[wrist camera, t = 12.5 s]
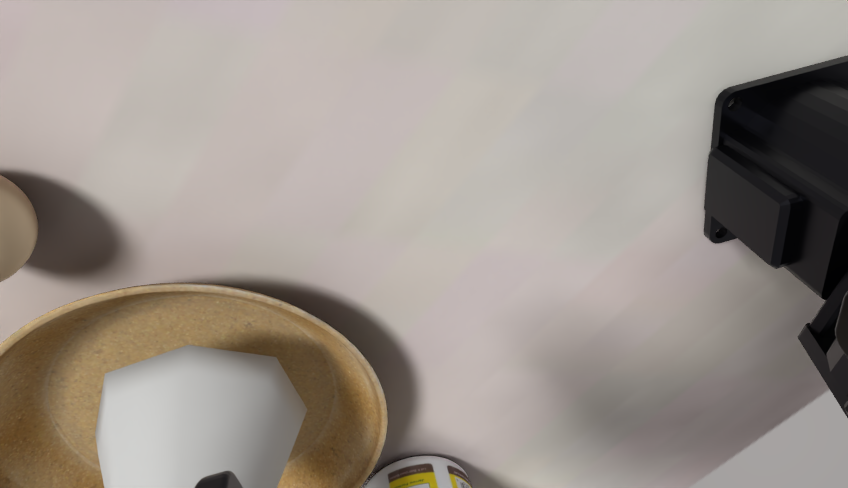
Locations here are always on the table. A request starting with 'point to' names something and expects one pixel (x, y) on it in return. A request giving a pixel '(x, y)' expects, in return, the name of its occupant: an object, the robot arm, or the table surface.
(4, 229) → the beige ball
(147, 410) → the flask
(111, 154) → the table surface
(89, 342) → the plant saucer
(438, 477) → the supplement bottle
